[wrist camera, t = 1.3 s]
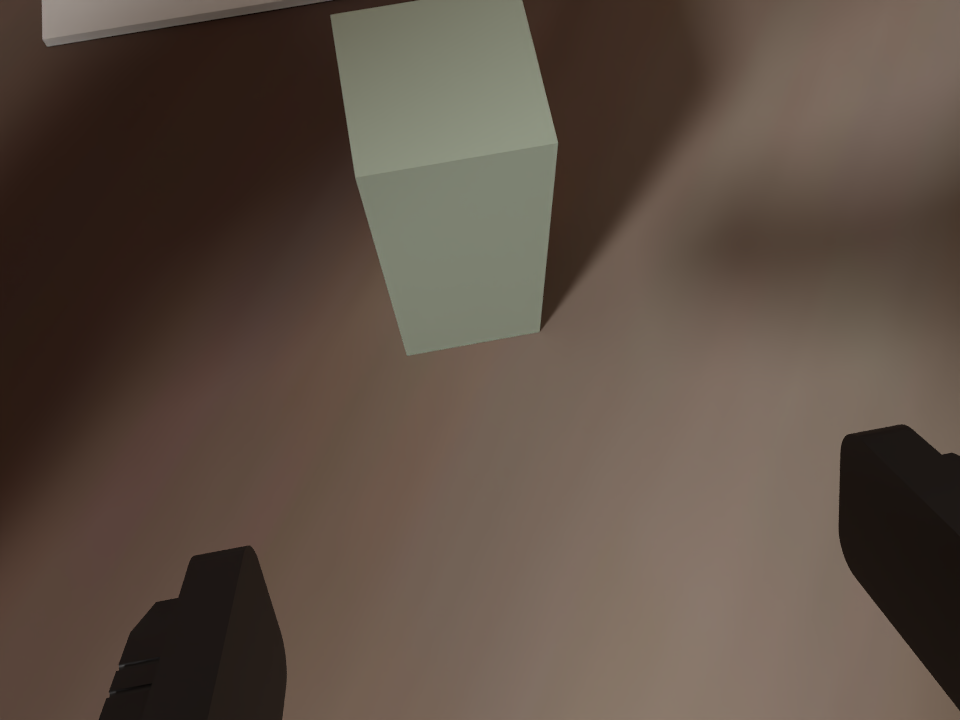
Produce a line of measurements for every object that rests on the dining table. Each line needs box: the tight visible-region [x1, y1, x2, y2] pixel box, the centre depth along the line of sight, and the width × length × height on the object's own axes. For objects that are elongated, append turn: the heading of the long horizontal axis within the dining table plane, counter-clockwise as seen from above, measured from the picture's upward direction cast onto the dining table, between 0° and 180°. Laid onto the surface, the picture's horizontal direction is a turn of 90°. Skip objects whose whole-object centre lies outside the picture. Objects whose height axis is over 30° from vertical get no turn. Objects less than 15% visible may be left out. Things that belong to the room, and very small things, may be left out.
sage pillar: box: [330, 0, 558, 356], centre depth 25 cm, size 4×4×11 cm
